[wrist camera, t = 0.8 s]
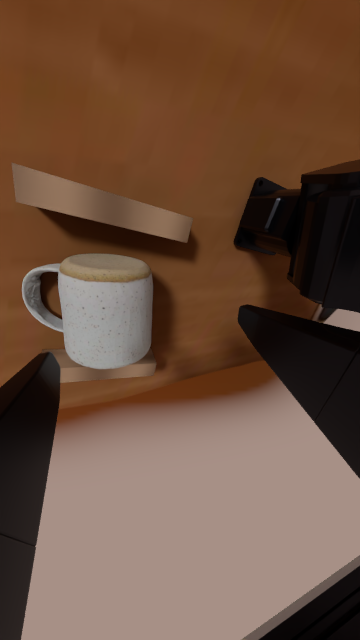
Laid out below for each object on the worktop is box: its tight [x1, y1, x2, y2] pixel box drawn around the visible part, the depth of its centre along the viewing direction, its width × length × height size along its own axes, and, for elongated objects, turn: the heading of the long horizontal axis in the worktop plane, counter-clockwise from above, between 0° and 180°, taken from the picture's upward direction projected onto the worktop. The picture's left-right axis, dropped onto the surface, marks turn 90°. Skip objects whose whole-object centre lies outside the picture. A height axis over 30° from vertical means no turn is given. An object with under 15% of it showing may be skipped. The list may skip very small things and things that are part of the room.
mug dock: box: [12, 163, 193, 383], centre depth 19 cm, size 12×18×3 cm, turn 166°
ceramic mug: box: [22, 254, 153, 369], centre depth 16 cm, size 11×8×8 cm
